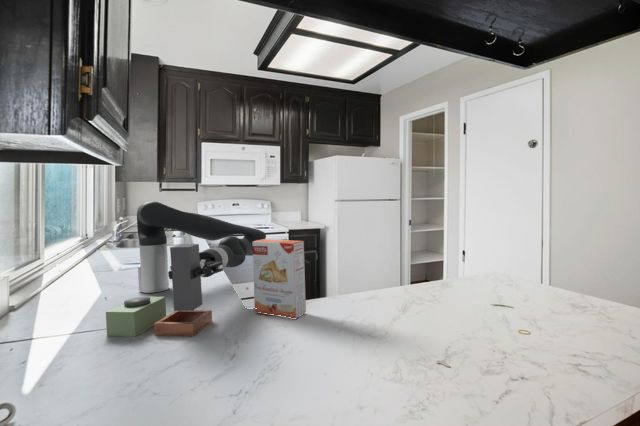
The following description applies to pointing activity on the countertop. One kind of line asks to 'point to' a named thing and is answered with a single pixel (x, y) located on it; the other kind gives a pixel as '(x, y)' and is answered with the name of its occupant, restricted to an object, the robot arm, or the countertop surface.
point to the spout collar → (183, 323)
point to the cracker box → (279, 277)
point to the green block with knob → (135, 316)
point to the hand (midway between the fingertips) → (180, 275)
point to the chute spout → (185, 277)
